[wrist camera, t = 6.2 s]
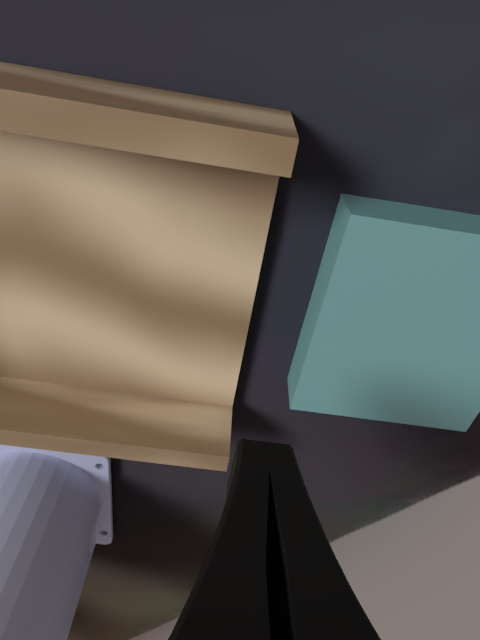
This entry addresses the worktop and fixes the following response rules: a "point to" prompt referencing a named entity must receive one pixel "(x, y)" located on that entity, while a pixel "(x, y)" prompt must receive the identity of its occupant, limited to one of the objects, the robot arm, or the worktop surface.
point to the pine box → (129, 262)
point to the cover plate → (393, 318)
